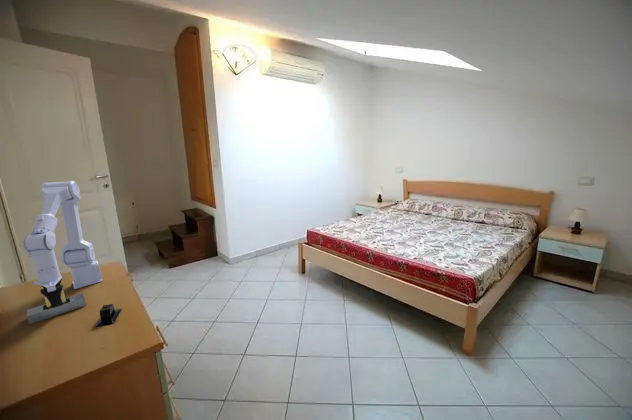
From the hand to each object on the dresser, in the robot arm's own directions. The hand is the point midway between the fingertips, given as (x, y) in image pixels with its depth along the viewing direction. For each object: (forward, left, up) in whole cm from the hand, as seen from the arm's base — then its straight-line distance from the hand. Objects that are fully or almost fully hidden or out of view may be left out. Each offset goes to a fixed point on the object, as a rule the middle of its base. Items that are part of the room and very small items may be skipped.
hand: (56, 302), depth 99 cm
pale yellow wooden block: (0, 0, -3) cm, 3 cm away
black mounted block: (-12, +18, -4) cm, 22 cm away
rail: (0, 0, -4) cm, 4 cm away
